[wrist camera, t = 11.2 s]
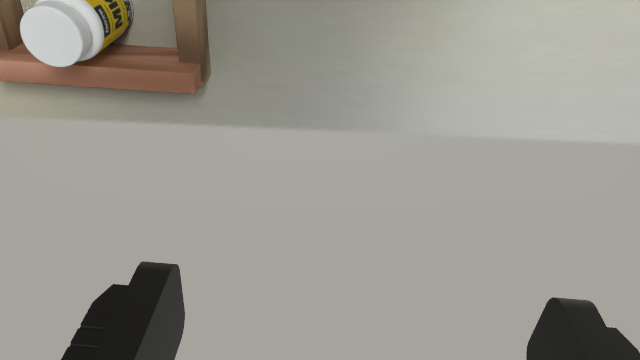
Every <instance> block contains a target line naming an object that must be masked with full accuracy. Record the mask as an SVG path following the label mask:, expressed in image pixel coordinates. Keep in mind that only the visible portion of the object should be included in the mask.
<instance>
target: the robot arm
mask: <svg viewBox="0 0 640 360" xmlns="http://www.w3.org/2000/svg"><path fill="white" fill-rule="evenodd" d="M184 311H185V310H184V303H183V294H182V286H181V277H180V270H179V267H178V265H177V264H165V263H153V262H141V263H140V264H139V265H138V267H137V269H136V271H135V273H134V275H133V277H132V279H131V281H130V283H129V285H116V284H113V285H112V286H111V287H109V288H108V289H107V290H106V291H105V292H104V293H103V294H101V295H100V296H99V297H98V298H97V299H96V300H95V301H94V302H93V303H92V305H91V307H90V308H89V310H88V312H87V314H86V315H85V317H84V319H83V321H82V323H81V327H80V328H79V329H78V330H77V332H76V334H75V335H74V337H73V339H72V341H71V345H70V347H68V348H67V350H66V352H65V353H64V355H63V357H62V359H61V360H174V359H175V356H176V353H177V350H178V347H179V344H180V341H181V338H182V334H183V328H184V320H185V312H184ZM527 360H640V353H639V351H638V350H637V349H636V348H635V347H634V346H633V345H632V344H631V343H630V342H629V341H628V340H627V339H626V338H625V337H624V336H623V335H622V334H621V333H620V332H619V331H618V330H617V329H616V328H609V327H606V325H605V323H604V321H603V319H602V318H601V316H600V314H599V312H598V310H597V308H596V307H595V305H594V304H593V303H592V302H590V301H587V300H576V299H565V298H551V299H550V300H549V301H548V302H547V304H546V306H545V308H544V310H543V312H542V314H541V317H540V319H539V321H538V323H537V325H536V327H535V329H534V331H533V334H532V335H531V338H530V340H529V342H528V346H527Z"/></svg>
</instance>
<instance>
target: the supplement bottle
mask: <svg viewBox="0 0 640 360" xmlns="http://www.w3.org/2000/svg"><path fill="white" fill-rule="evenodd" d="M132 19H133V6H132V3H131V0H38V1H37V2H36V4H35V6H34V7H32V8H30V9H29V10H28V11H26V12H25V14H24V15H23V17H22V19H21V22H20V33H21V37H22V40H23V42H24V44H25V46H26V47H27V49H28V50H29V51H30V52H31V53H32V54H33V55H34V56H35V57H36V58H37V59H39V60H40V61H42V62H43V63H45V64H48V65H51V66H55V67H66V66H70V65H72V64H74V63H76V62H77V61H84V60H87V59H90V58H92V57H94V56H95V55H96V54H98V53H99V52H100V51H101V50H103V49H104V48H105V47H107V46H108V45H109V44H110V43H112V42H113V41H114V40H115V39H117V38H118V37H119V36H120V35H122V34H123V33H124V32H125V31H126V30H127V29H128V28H129V26H130V25H131V22H132Z"/></svg>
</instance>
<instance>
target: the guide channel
mask: <svg viewBox="0 0 640 360" xmlns="http://www.w3.org/2000/svg"><path fill="white" fill-rule="evenodd" d="M173 8H174V18H175V28H176V37H177V47H178V49H175V48H160V47H145V46H131V45H116V44H109V45H108V46H107V47H105V48H104V49H103V50H101V51H100V52H99V53H98V54H96V55H95V56H94V57H92V58H90V59H87V60H84V61H77V62H76V63H74V64H72V65H70V66H66V67H55V66H51V65H48V64H45V63H43V62H42V61H40V60H39V59H37V58H36V57H35V56H34V55H33V54H32V53H31V52H30V51H29V50H28V49H27V47H26V46H25V44H24V42H23V40H22V37H21V33H20V22H21V19H22V17H23V15H24V14H23V10H22V6H21V3H20V0H0V81H13V82H27V83H42V84H56V85H71V86H86V87H100V88H115V89H129V90H144V91H158V92H173V93H187V94H195V93H196V92H197V90H198V89H199V88H203V86H204V84H205V83H206V81H207V79H208V78H209V76H210V74H211V73H210V59H209V44H208V29H207V14H206V0H173Z"/></svg>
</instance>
